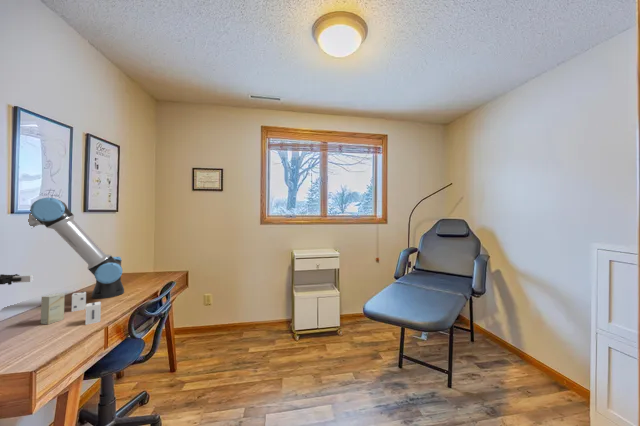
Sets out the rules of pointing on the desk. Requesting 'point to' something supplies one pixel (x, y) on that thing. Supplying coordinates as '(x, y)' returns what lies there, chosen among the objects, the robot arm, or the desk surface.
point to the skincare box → (52, 308)
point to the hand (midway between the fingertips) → (31, 278)
